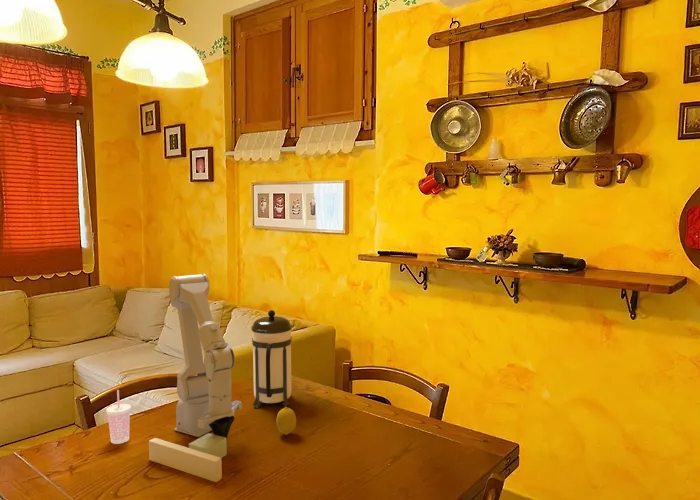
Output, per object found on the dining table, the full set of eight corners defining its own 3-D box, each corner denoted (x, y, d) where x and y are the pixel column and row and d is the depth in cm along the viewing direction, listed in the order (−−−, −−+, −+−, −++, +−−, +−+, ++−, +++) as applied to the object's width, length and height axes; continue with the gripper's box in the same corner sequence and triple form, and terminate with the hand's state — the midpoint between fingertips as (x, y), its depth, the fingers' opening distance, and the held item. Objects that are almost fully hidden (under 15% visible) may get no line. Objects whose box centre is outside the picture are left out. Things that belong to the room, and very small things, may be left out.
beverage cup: (105, 446, 141) (102, 395, 139) (110, 436, 147) (108, 386, 145) (129, 443, 142) (127, 393, 141) (134, 433, 148) (132, 385, 147)
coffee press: (237, 401, 171) (235, 310, 168) (278, 389, 182) (277, 303, 179) (268, 418, 159) (266, 319, 156) (310, 404, 169) (309, 311, 166)
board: (149, 460, 133) (148, 440, 133) (155, 456, 135) (155, 437, 135) (215, 482, 123) (215, 461, 122) (221, 478, 125) (221, 457, 124)
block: (189, 461, 133) (188, 443, 132) (209, 449, 139) (208, 432, 138) (207, 466, 130) (207, 449, 130) (226, 454, 136) (226, 437, 136)
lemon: (299, 432, 149) (299, 404, 148) (291, 440, 144) (290, 412, 143) (281, 429, 151) (281, 402, 150) (272, 437, 146) (272, 409, 145)
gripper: (212, 406, 129) (213, 459, 131) (250, 387, 142) (251, 436, 143) (190, 401, 133) (192, 453, 134) (229, 383, 145) (230, 431, 147)
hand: (221, 444), depth 139 cm, fingers closed
